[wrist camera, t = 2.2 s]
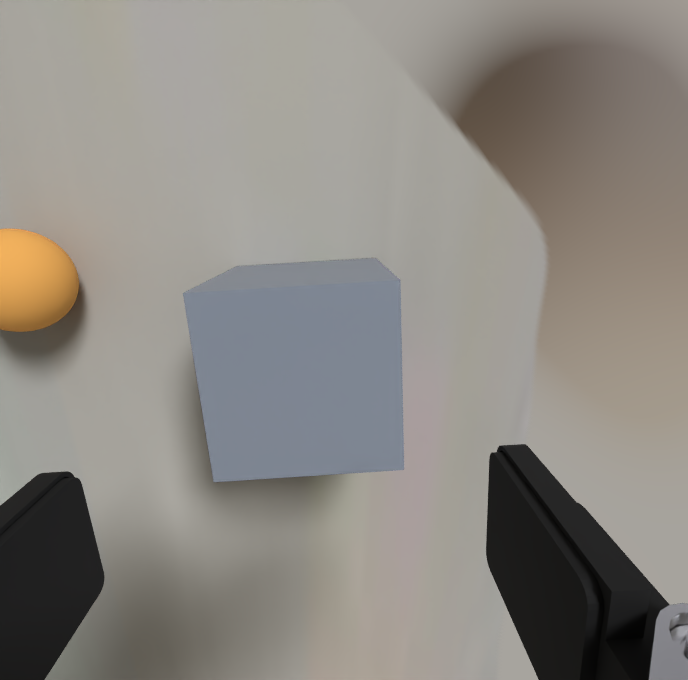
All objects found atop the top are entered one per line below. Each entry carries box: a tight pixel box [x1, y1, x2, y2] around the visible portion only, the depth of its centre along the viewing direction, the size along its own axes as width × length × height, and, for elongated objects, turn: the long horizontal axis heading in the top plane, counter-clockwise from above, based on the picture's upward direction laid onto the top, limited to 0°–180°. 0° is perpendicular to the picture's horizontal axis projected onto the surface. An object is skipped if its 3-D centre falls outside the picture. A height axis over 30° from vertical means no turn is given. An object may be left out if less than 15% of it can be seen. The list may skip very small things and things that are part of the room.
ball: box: [0, 229, 79, 332], centre depth 21 cm, size 5×5×5 cm
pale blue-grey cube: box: [183, 258, 404, 482], centre depth 20 cm, size 8×8×9 cm
